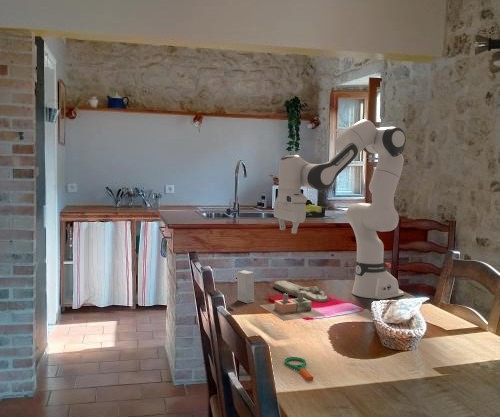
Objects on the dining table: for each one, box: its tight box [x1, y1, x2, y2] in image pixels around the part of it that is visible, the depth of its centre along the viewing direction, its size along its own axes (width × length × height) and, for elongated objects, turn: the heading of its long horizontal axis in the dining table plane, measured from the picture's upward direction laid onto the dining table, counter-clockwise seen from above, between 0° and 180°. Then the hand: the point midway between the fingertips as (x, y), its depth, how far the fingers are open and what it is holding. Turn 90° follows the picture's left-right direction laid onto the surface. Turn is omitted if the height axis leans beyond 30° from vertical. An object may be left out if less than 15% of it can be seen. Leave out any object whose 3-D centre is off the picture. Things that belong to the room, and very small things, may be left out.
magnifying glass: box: [284, 356, 314, 382], centre depth 148 cm, size 15×6×2 cm, turn 15°
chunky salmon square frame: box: [274, 298, 297, 313], centre depth 199 cm, size 6×6×3 cm
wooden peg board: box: [259, 292, 325, 322], centre depth 199 cm, size 17×20×8 cm
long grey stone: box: [273, 279, 329, 303], centre depth 226 cm, size 35×5×10 cm
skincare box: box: [236, 269, 255, 304], centre depth 215 cm, size 6×4×12 cm
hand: (288, 231), depth 210 cm, fingers open, 8 cm apart
